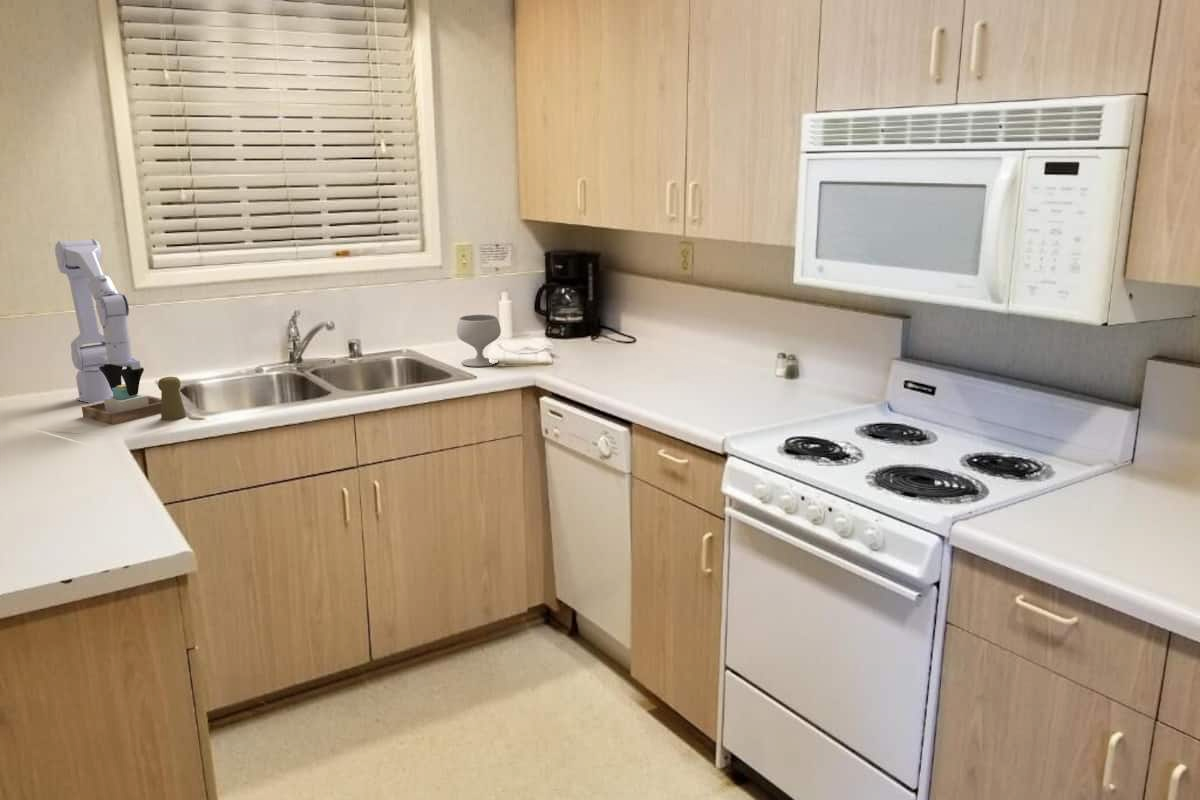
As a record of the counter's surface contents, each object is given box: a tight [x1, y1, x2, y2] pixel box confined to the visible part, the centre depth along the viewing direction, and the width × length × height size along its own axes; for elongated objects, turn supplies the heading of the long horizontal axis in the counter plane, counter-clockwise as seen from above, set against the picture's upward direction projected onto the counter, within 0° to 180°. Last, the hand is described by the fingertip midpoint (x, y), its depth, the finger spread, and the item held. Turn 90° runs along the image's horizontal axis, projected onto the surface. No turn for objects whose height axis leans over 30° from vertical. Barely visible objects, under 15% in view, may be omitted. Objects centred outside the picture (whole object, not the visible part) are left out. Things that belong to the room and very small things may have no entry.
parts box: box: [81, 394, 161, 426], centre depth 242 cm, size 14×16×3 cm
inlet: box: [104, 393, 149, 413], centre depth 241 cm, size 8×8×4 cm
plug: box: [112, 383, 137, 401], centre depth 241 cm, size 4×4×8 cm
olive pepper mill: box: [157, 376, 187, 422], centre depth 236 cm, size 6×6×11 cm
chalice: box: [456, 314, 502, 368], centre depth 296 cm, size 14×14×15 cm
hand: (125, 393), depth 240 cm, fingers open, 7 cm apart
